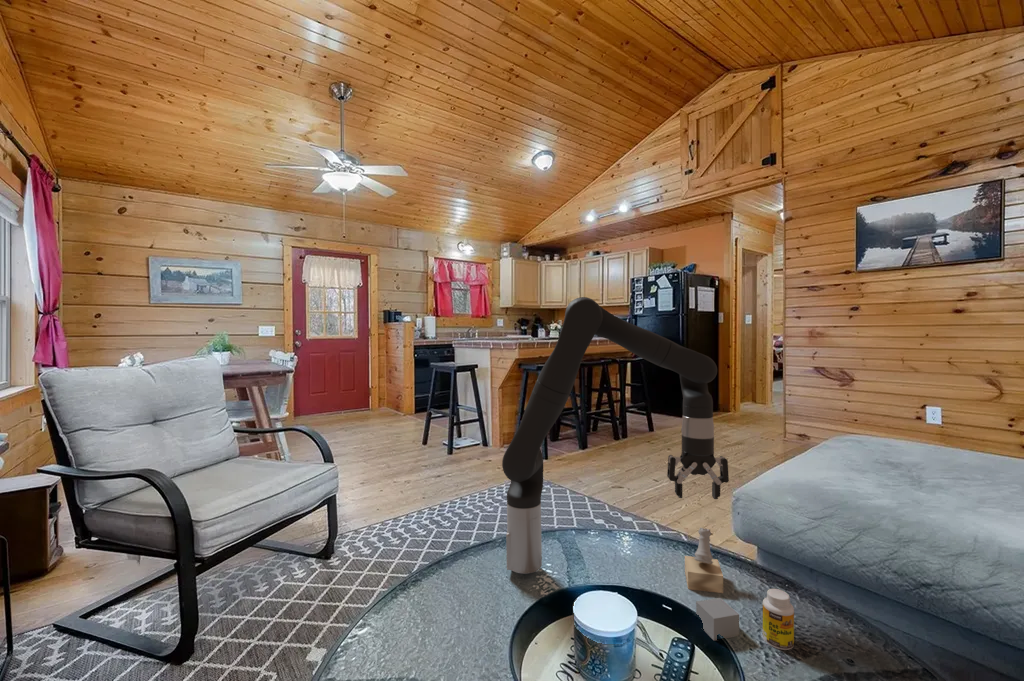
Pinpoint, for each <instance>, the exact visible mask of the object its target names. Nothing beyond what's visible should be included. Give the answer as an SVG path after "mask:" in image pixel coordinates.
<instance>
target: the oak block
mask: <svg viewBox="0 0 1024 681" xmlns="http://www.w3.org/2000/svg"><path fill="white" fill-rule="evenodd" d="M695 557H696V556H690V555H684V574H685V580H686V586H687V589H688V590H693V591H701V592H710V593H719V594H724V575H723V571H722V568H721V565H720V563H719V560H718V559H716V558H713V559H712V562H713V563H712V564H708V563H704V562H699V561H695V559H694V558H695Z"/></svg>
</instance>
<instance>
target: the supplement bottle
mask: <svg viewBox="0 0 1024 681" xmlns="http://www.w3.org/2000/svg"><path fill="white" fill-rule="evenodd" d="M790 598H791V597H790V595H789V593H787V592H785V590H782V589H778V588H769V589H768V590H767V592H766V597H764V599H763V600H762V638H763V639H762V640H764V642H765V643H767V644H768V646H770V647H772V648H775V649H778V650H782V651H783V650H784V651H787V650H789V651H790V650H792V649H793V648H794V645H795V608H794V606H793V605H792V603H791V600H790Z"/></svg>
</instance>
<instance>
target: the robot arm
mask: <svg viewBox="0 0 1024 681" xmlns="http://www.w3.org/2000/svg"><path fill="white" fill-rule="evenodd" d="M595 336H599V337H602V339H603V338H604V339H606V340H608V341H610V342H613V343H615V344H616V345H618V346H620V347H622V348H624V349H625V350H627V351H628V352H630V353H632V354H634V355H635V356H637V357H639V358H641V359H643V360H646V361H647V362H650V363H652V364H654V365H656V366H658V367H660V368H664V369H666V370H670V371H673V372H675V373H677V374H678V375H679V381H680V387H681V393H682V398H683V399H682V420H681V429H680V432H681V454H680V456H673V455H672V454H669V455H668V459H667V471H666V472H667V474H666V476H667V478H668V479H669V481H670V482H674V492H675V493H674V494H675V495H676V496H677V497H678V499H683V481H684V480H685V479H686V478H688V477H689V476H690V474H691V475H692V476H696V475H697V476H698V475H701V476H706V475H707V474H708V476H709V477H710V478H711V480H712V482H711V497H712V498H713V500H718V499H719V498H720V497H721V485H722V484H723V483H726V484H727V483H729V482H730V481H729V480H730V478H729V477H730V476H729V461H728V459H727V458H726V457H724V456H723V455H720V456H719V457H715V424H714V400H713V397H712V394H711V393H710V392H709V386H708V383H711V382H712V381H713V380H715V378H716V377H717V374H718V367H717V364H716V362H715V361H714V360H713V359H712V358H711V357H710V356H708V355H705V354H703V353H701V352H698V351H696V350H693V349H691V348H687V347H684V346H682V345H680V344H678V343H676V342H675V341H672V340H670V339H668V338H666V337H664V336H661V335H659V334H657V333H655V332H652V331H650V330H649V329H645V328H642V327H640V326H637V325H635V324H633V323H630V322H628V321H626V320H624V319H622V318H620V317H618V316H616V315H615V314H613V313H611V312H609V311H608V310H607V309H605V308H603V307H602V306H600V305H599V303H597V302H596V301H595V300H594V299H592V298H590V297H587V296H582V297H581V296H580V297H577V298H574V299H573V300H571V301H570V302H569V303H568V305H567V306H566V308H565V312H564V320H563V323H562V326H561V330H560V333H559V336H558V339H557V342H556V344H555V346H554V349H553V350H552V352H551V354H550V355H549V357H547V358H548V359H547V360H546V361H545V363H544V365H543V367H542V368H541V370H540V373H539V375H538V376H537V378H536V379H537V380H536V381H535V384H534V386H533V389H532V391H531V393H530V397H529V399H528V401H527V404H526V407H525V409H524V412H523V415H522V418H521V421H520V424H519V426H518V428H517V430H516V432H515V434H514V435H513V438H512V440H511V442H510V444H509V445H508V447H507V448H506V449H505V452H504V454H503V455H502V456H503V457H502V463H501V465H502V471H503V473H504V475H505V476H506V478H507V479H508V480H509V481H510V484H509V487H508V489H507V492H506V519H507V520H506V523H507V524H506V528H507V531H506V534H505V537H506V539H505V540H506V541H505V542H506V549H505V550H506V551H505V552H506V570H507V571H508V570H509V571H513V572H514V573H517V574H522V575H523V574H525V575H526V574H533V573H535V572H537V571H539V570H540V569H541V568H542V566H543V562H542V561H543V556H542V554H543V551H542V550H543V549H542V546H543V545H542V543H543V542H542V492H543V488H544V456H543V453H542V450H541V447H542V445H543V443H544V440H545V438H546V436H547V435H548V433H549V432H550V430H551V429H552V427H553V426H554V424H555V423H556V421H557V420H558V418H559V417H560V415H561V413H563V412H562V411H563V410H564V408H565V406H566V404H567V401H568V399H569V397H570V395H571V393H572V389H573V386H574V385H575V382H576V379H577V376H578V373H579V371H580V370H579V369H580V367H581V363H582V360H583V358H584V356H585V353H586V352H587V349H588V348H589V346H590V344H591V342H592V340H593V339H594V337H595ZM679 463H681V464H682V466H681V467H680V468H679V470H678V472H677V473H676V466H678V465H679ZM715 464H717V466H719V476H717V474H716V473H715V471H713V469H712V468H713V467H714V466H715ZM675 474H676V475H675Z"/></svg>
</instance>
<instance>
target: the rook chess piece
mask: <svg viewBox="0 0 1024 681" xmlns="http://www.w3.org/2000/svg"><path fill="white" fill-rule="evenodd" d="M697 531H698V534H699V537H698V539H699V540H698V546H697V549H696V551H695V553H694V557H695V558H694V559H695V561H699V562H704V563H708V564H712V563H713V562H712V559H714V558H713V555H712V553H711V548H710V547H711V546H710V545H711V544H710V543H711V542H710V541H711V539H710V537H711V536H712V532H711V529H709V528H704V527H699V529H698V530H697Z"/></svg>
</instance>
